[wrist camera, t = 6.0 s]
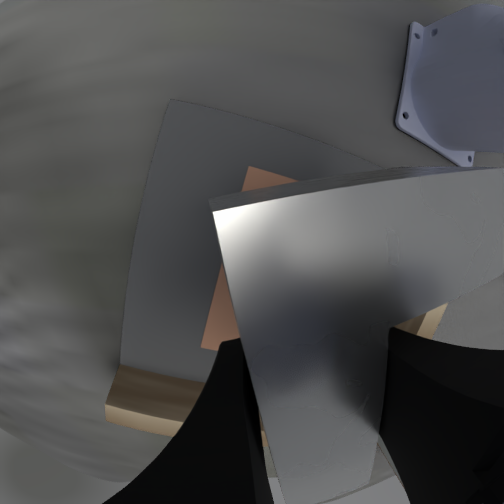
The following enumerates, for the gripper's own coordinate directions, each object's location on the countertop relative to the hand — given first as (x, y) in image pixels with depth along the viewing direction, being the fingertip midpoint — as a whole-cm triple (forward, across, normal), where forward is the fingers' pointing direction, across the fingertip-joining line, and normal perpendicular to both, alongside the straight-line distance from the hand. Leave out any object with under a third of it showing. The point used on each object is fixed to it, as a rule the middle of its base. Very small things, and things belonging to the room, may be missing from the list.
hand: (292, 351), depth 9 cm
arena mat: (+8, -1, +2) cm, 9 cm away
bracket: (+2, -2, 0) cm, 3 cm away
